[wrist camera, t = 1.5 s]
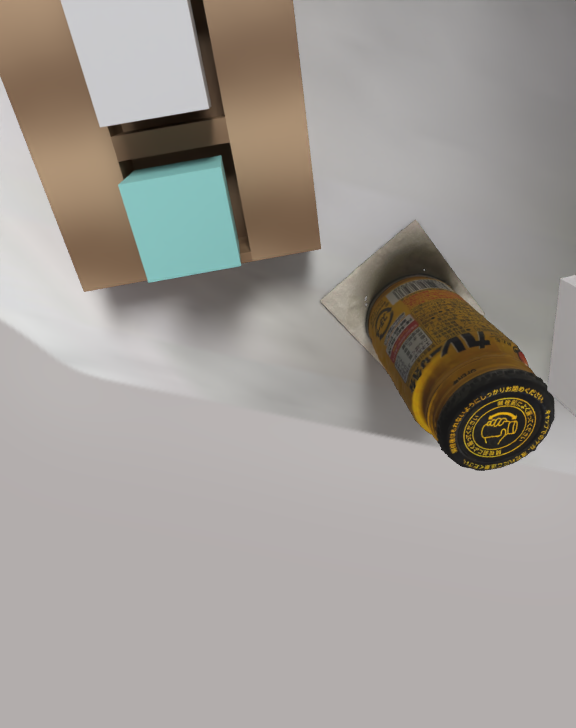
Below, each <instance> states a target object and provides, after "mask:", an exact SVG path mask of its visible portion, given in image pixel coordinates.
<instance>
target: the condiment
mask: <svg viewBox="0 0 576 728" xmlns="http://www.w3.org/2000/svg"><path fill="white" fill-rule="evenodd" d="M424 269H426V270H425V271H424ZM366 296H367V300H366V301H365V297H366ZM320 301H321V302H322V304H323V305H324V306H325V307H326V308H327V309H328V310H329V311H330V312H331V313H332V314H333V315H334V316H335V317H336V318H337V319H338V321H339V322H340V323H341V324H342V325H344V327H345V328H346V329H347V330H348V331H349V332H350V333H351V334H352V335H353V336H354V337H355V338H356V339H357V340H358V341H359V342H360V343H361V344H362V345H363V347H364V348H365V349H366V350H367V351H368V352H369V353H370V354H371V355H372V356H373V357H374V358H375V359H376V360H377V361H378V362H379V363H380V364H381V365H382V367H383V368H384V369H385V370H386V371H387V373H388V374H389V375H390V377H391V379H392V381H393V382H394V385H395V386H396V388H397V390H398V391H399V394H400V396H401V397H402V398H403V400H404V402H405V403H406V405H407V407H408V409H409V410H410V412H411V414H412V415H413V417H414V419H415V421H416V422H417V423H418V424H419V425H420V426H421V427H422V428H423V429H424V430H425V431H427V432H428V433H430V434H432V435H433V437H434V438H435V439H436V440H437V441H438V443H439V444H440V447H441V450H442V451H444V453H445V454H447V455H448V457H449V458H451V459H452V460H453V461H454V462H456V463H457V464H459V465H460V466H462V467H466V468H472V469H475V470H479V471H480V470H481V471H484V470H491V469H497V468H501V467H504V466H506V465H510V464H512V463H515V462H517V461H519V460H520V459H521V458H523V457H525V456H526V455H528V454H529V453H530V452H532V451H535V450H536V447H537V446H538V444H539V443H541V441H542V440H543V439H544V438H545V437H546V435H547V433H548V431H549V429H550V427H551V424H552V422H553V420H554V398H553V396H552V394H551V393H550V392H548V391H547V385H546V384H545V383H543V380H542V379H541V378H539V377H537V376H536V375H535V374H534V373H533V371H532V370H531V369H530V368H529V366H528V363H527V361H526V358H525V356H524V354H523V353H522V352H521V351H520V350H519V348H518V346H517V345H516V344H515V343H513V342H512V340H510V339H508V338H507V337H506V336H505V335H504V334H503V333H502V332H501V331H499V330H498V329H497V328H496V327H495V326H494V325H492V324H491V323H490V322H489V321H488V320H486V319H485V318H484V315H485V313H484V312H483V311H482V309H481V308H480V307H479V305H478V304H477V303H476V301H475V300H474V299H473V297H472V296H471V295H470V293H469V292H468V290H467V289H466V288H465V287H464V285H463V284H462V282H461V281H460V280H459V278H458V277H457V276H456V274H455V273H454V271H453V270H452V268H451V267H450V266H449V264H448V263H447V261H446V260H445V259H444V258H443V256H442V255H441V254H440V252H439V251H438V249H437V248H436V247H435V245H434V244H433V243H432V241H431V240H430V239H429V237H428V236H427V234H426V233H425V231H424V230H423V229H422V227H421V226H420V225H419V223H418V222H417V221H416V220H414V221H413V222H412V223H411V224H409V225H408V226H407V227H406V228H405V229H403V230H402V231H400V232H399V233H398V234H397V235H396V236H395V237H393V238H392V239H391V240H390V241H389V242H387V243H386V244H385V245H384V246H383V247H382V248H380V249H379V250H378V251H377V252H375V253H374V254H373V255H372V256H371V257H370V258H368V259H367V260H366V261H365V262H364V263H363V264H362V265H360V266H359V267H357V268H356V269H355V271H353V272H352V273H351V274H350V275H349V276H348V277H347V278H346V279H345V280H343V281H342V282H341V283H340V284H338V285H337V286H336V287H335V288H334V289H333V290H332V291H331V292H330V293H329V294H327V295H326V296H325V297H324V298H323V299H322V300H320ZM365 303H367V306H366V307H365Z"/></svg>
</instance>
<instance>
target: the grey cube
mask: <svg viewBox="0 0 576 728" xmlns="http://www.w3.org/2000/svg"><path fill="white" fill-rule="evenodd" d="M61 4H62V7H63V10H64V13H65V16H66V20H67V23H68V26H69V29H70V33H71V36H72V39H73V42H74V45H75V49H76V52H77V55H78V58H79V61H80V65H81V68H82V71H83V74H84V77H85V81H86V84H87V87H88V90H89V94H90V97H91V100H92V103H93V106H94V110H95V113H96V116H97V119H98V122H99V126H100V127H105V126H111V125H117V124H123V123H129V122H134V121H140V120H146V119H152V118H158V117H164V116H169V115H175V114H181V113H187V112H193V111H199V110H204V109H209V108H210V107H211V101H210V96H209V91H208V86H207V81H206V76H205V71H204V66H203V61H202V56H201V51H200V46H199V41H198V36H197V31H196V27H195V22H194V17H193V12H192V7H191V2H190V0H61Z"/></svg>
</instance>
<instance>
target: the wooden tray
mask: <svg viewBox="0 0 576 728" xmlns="http://www.w3.org/2000/svg"><path fill="white" fill-rule="evenodd" d="M190 2H191V7H192V12H193V17H194V22H195V27H196V31H197V36H198V41H199V46H200V51H201V56H202V61H203V66H204V71H205V76H206V81H207V86H208V91H209V96H210V101H211V107H210V108H209V109H204V110H199V111H193V112H187V113H181V114H175V115H169V116H164V117H158V118H152V119H146V120H140V121H134V122H129V123H123V124H117V125H111V126H105V127H100V126H99V122H98V119H97V116H96V113H95V110H94V106H93V103H92V100H91V97H90V94H89V90H88V87H87V84H86V81H85V77H84V74H83V71H82V68H81V65H80V61H79V58H78V55H77V52H76V49H75V45H74V42H73V39H72V36H71V33H70V29H69V26H68V23H67V20H66V16H65V13H64V10H63V7H62V4H61V0H0V76H1V79H2V82H3V84H4V87H5V89H6V92H7V94H8V97H9V100H10V102H11V105H12V107H13V110H14V113H15V115H16V118H17V120H18V123H19V125H20V128H21V131H22V133H23V136H24V138H25V141H26V143H27V146H28V149H29V151H30V154H31V156H32V159H33V162H34V164H35V167H36V169H37V172H38V174H39V177H40V180H41V182H42V185H43V187H44V190H45V193H46V195H47V198H48V200H49V203H50V205H51V208H52V211H53V213H54V216H55V218H56V221H57V223H58V226H59V229H60V231H61V234H62V236H63V239H64V242H65V244H66V247H67V249H68V252H69V254H70V257H71V260H72V262H73V265H74V267H75V270H76V272H77V275H78V278H79V280H80V283H81V285H82V288H83V291H84V292H86V291H92V290H97V289H103V288H108V287H114V286H119V285H125V284H130V283H136V282H141V281H147V277H146V273H145V270H144V267H143V264H142V260H141V257H140V254H139V251H138V248H137V244H136V241H135V238H134V235H133V232H132V228H131V225H130V222H129V219H128V216H127V212H126V209H125V206H124V203H123V199H122V196H121V193H120V190H119V187H118V184H119V183H121V182H122V181H123V180H124V179H125V178H126V177H127V176H129V175H130V174H131V173H132V172H133V171H134V170H139V169H144V168H150V167H156V166H162V165H167V164H173V163H179V162H185V161H190V160H196V159H202V158H208V157H213V156H219V155H221V156H222V161H223V166H224V171H225V176H226V181H227V186H228V191H229V196H230V201H231V206H232V211H233V216H234V221H235V225H236V230H237V235H238V240H239V250H240V259H241V263H246V262H252V261H257V260H263V259H268V258H274V257H280V256H285V255H291V254H296V253H302V252H307V251H313V250H318V249H321V244H320V235H319V226H318V217H317V209H316V200H315V191H314V182H313V173H312V165H311V156H310V147H309V138H308V130H307V121H306V112H305V103H304V94H303V86H302V77H301V68H300V59H299V50H298V42H297V33H296V24H295V15H294V6H293V0H190Z"/></svg>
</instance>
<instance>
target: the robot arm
mask: <svg viewBox="0 0 576 728" xmlns="http://www.w3.org/2000/svg"><path fill="white" fill-rule="evenodd" d="M547 391H548V392H550V393H551V394H552V395H553V396H554V397H555V398H556V399H557V400H558V401H559V402H560V403H561V404H562V405H564V406H565V407H566V408H567V409H568V410H569V411H570V412H571V413H572V414H573V415H574V416H575V417H576V275H573V276H568V277H564V278H560V283H559V292H558V300H557V309H556V318H555V326H554V335H553V343H552V352H551V361H550V369H549V378H548V386H547Z"/></svg>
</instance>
